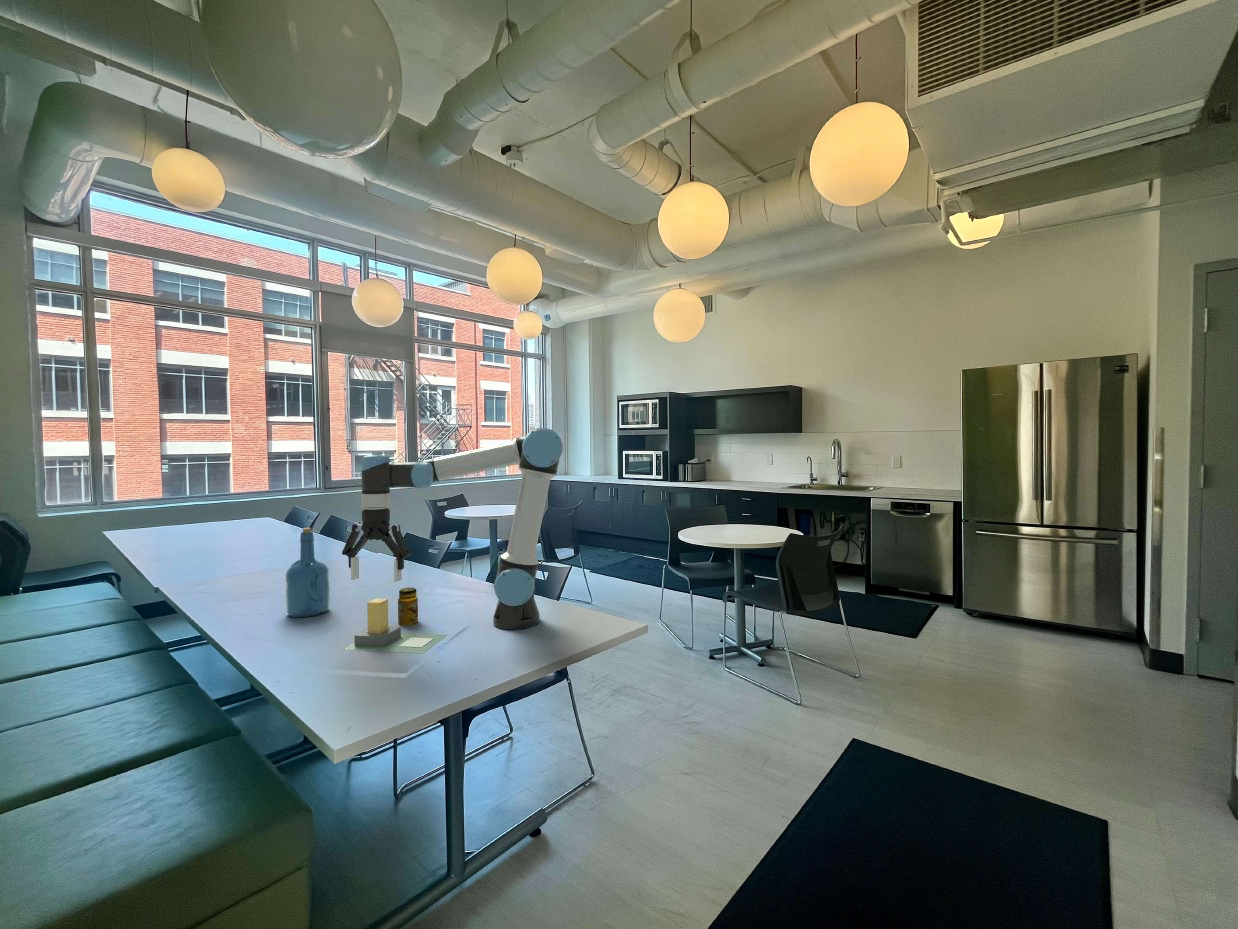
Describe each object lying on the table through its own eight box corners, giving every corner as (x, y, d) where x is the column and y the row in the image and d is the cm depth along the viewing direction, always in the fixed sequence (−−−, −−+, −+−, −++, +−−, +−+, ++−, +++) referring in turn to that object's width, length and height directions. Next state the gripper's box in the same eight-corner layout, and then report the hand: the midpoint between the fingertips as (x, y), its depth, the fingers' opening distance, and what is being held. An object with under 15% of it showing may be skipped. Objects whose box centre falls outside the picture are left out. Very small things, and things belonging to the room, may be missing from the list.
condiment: (421, 626, 172) (420, 590, 172) (393, 631, 168) (393, 594, 167) (416, 620, 178) (415, 585, 178) (389, 625, 174) (388, 589, 173)
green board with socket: (447, 638, 161) (447, 625, 161) (422, 657, 146) (422, 642, 146) (374, 634, 165) (374, 621, 165) (343, 653, 150) (342, 638, 150)
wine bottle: (337, 610, 190) (335, 527, 189) (298, 620, 178) (296, 532, 178) (316, 604, 197) (315, 524, 196) (278, 614, 186) (276, 529, 185)
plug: (388, 638, 158) (387, 598, 158) (380, 643, 154) (380, 602, 154) (376, 638, 159) (375, 598, 158) (367, 643, 155) (367, 602, 154)
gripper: (422, 507, 157) (422, 578, 158) (345, 505, 161) (345, 575, 161) (408, 510, 150) (409, 584, 150) (328, 508, 153) (328, 581, 154)
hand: (376, 580), depth 156 cm, fingers open, 13 cm apart
